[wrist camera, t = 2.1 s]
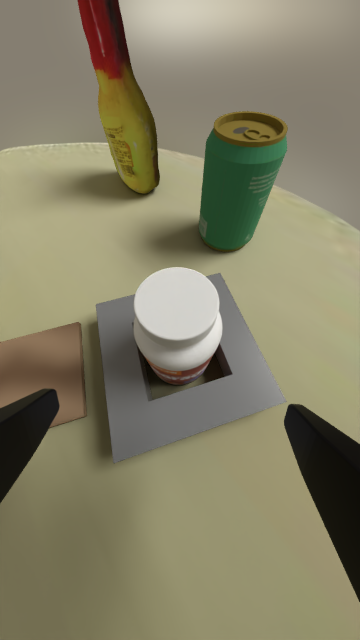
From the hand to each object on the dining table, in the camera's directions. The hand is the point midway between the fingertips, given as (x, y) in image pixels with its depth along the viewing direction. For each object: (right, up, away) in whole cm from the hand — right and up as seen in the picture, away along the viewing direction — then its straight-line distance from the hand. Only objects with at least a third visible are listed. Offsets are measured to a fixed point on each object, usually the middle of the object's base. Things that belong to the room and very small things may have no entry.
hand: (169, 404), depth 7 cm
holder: (0, -1, +13) cm, 13 cm away
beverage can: (+7, +16, +21) cm, 28 cm away
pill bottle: (0, -1, +13) cm, 13 cm away
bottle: (-8, +29, +28) cm, 41 cm away
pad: (-15, -3, +12) cm, 19 cm away
